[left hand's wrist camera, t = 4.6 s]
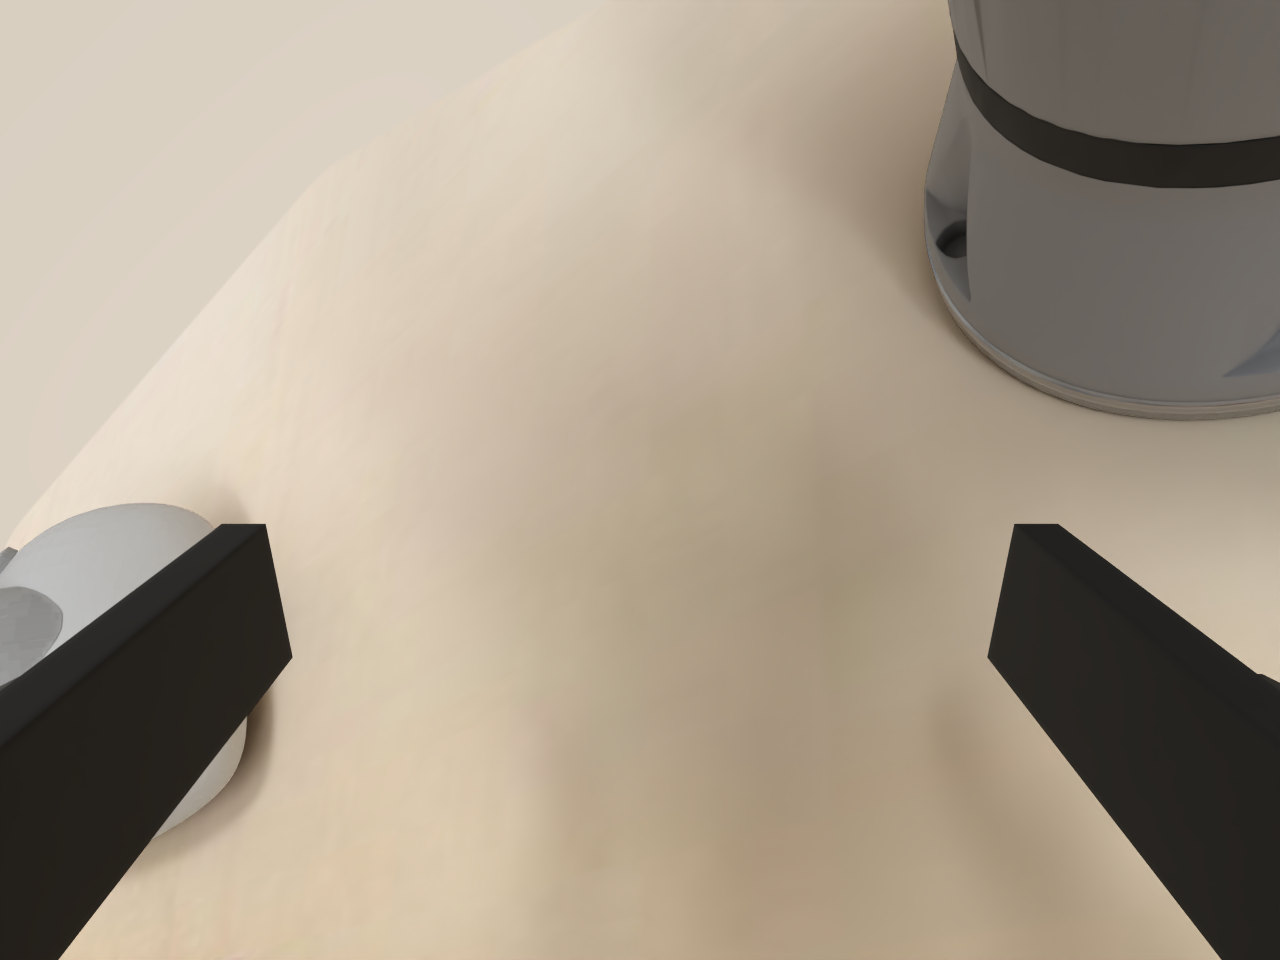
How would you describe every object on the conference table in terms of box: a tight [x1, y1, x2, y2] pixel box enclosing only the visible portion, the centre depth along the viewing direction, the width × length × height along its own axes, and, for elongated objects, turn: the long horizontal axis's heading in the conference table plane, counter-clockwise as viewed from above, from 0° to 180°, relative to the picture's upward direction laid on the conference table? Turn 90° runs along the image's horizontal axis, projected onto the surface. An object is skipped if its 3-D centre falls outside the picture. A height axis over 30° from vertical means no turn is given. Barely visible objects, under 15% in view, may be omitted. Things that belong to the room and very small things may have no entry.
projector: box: [0, 503, 247, 840], centre depth 35 cm, size 22×23×15 cm
